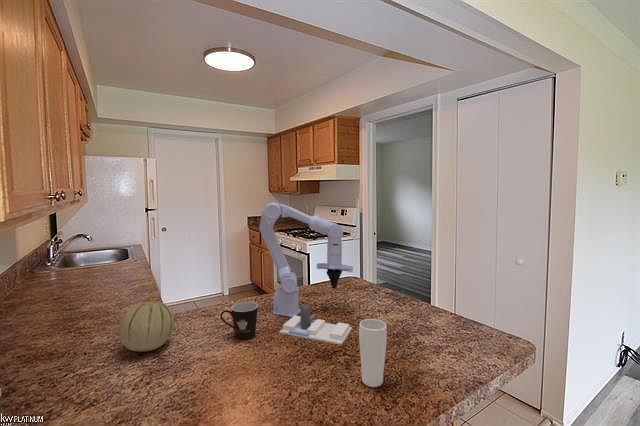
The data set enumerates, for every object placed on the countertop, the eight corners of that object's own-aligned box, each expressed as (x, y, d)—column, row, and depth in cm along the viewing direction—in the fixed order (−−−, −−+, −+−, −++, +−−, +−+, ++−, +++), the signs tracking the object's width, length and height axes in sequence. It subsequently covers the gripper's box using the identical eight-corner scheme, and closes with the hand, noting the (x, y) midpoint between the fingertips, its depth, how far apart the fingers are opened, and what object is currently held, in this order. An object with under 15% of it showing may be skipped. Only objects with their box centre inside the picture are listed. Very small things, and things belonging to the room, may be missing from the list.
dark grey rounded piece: (298, 328, 107) (298, 307, 107) (310, 317, 117) (310, 298, 116) (308, 330, 106) (308, 309, 106) (319, 319, 115) (319, 299, 115)
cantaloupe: (117, 367, 85) (114, 314, 84) (122, 344, 98) (120, 297, 97) (176, 354, 92) (174, 304, 91) (174, 333, 105) (172, 290, 104)
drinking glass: (387, 376, 81) (388, 320, 80) (384, 392, 74) (384, 331, 73) (361, 371, 83) (362, 317, 82) (356, 387, 77) (356, 327, 75)
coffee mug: (263, 333, 106) (263, 304, 105) (247, 344, 98) (246, 313, 97) (236, 326, 110) (235, 299, 110) (218, 337, 103) (218, 307, 102)
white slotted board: (279, 333, 106) (279, 326, 105) (295, 319, 117) (295, 313, 116) (341, 344, 97) (341, 338, 97) (352, 328, 108) (352, 322, 108)
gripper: (313, 254, 122) (313, 288, 123) (349, 257, 116) (349, 293, 117) (320, 251, 128) (320, 283, 129) (354, 254, 123) (354, 287, 124)
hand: (334, 287), depth 124 cm, fingers closed
